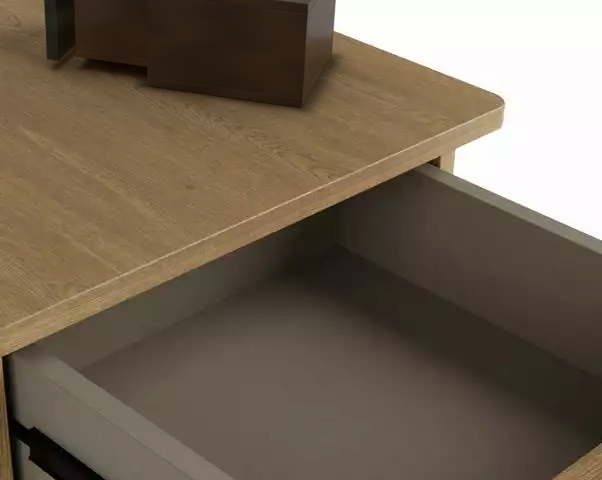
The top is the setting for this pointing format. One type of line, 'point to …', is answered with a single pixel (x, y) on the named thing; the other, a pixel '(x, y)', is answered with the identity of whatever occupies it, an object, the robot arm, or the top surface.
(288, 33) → the brown rectangular box
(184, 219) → the top surface
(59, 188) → the top surface
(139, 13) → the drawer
